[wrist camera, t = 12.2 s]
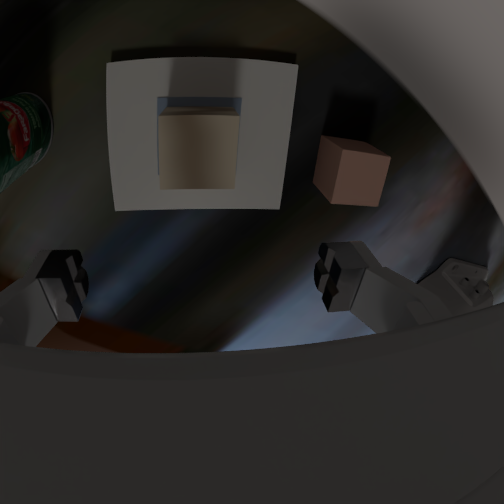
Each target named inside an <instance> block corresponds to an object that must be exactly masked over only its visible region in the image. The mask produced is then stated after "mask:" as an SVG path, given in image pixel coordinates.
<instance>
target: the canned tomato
mask: <svg viewBox="0 0 504 504" xmlns="http://www.w3.org/2000/svg"><path fill="white" fill-rule="evenodd" d="M52 137H53V118H52V115H51V112H50V109H49V107H48V105H47V104H46V103H45V101H44V100H43V99H42V98H40V97H39V96H38V95H36V94H34V93H29V92H23V93H18V94H16V95H13V96H9V97H6V98H3V99H0V193H1V192H2V191H4V190H5V189H6V188H7V187H8V186H9V185H10V184H11V183H13V182H14V181H15V180H16V179H17V178H19V177H20V176H21V175H22V174H23V173H25V172H26V171H27V170H28V169H30V168H31V167H32V166H33V165H35V164H37V163H38V162H39V161H40V160H41V159H42V158H43V157H44V156H45V155H46V153H47V151H48V149H49V147H50V145H51V142H52Z"/></svg>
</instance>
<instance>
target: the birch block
mask: <svg viewBox="0 0 504 504" xmlns="http://www.w3.org/2000/svg"><path fill="white" fill-rule="evenodd" d="M239 122H240V115H239V114H238V113H237V112H236V110H235V109H234V108H233V107H212V106H182V107H166V108H165V109H164V110H163V111H162V113H161V114H160V115H159V116H158V143H159V179H160V190H171V189H235V176H236V162H237V148H238V135H239Z"/></svg>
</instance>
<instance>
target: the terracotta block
mask: <svg viewBox="0 0 504 504" xmlns="http://www.w3.org/2000/svg"><path fill="white" fill-rule="evenodd" d="M390 159H391V157H390V156H388V155H387V154H385V153H383V152H382V151H380V150H378V149H377V148H375V147H373V146H371V145H370V144H368V143H366V142H362V141H357V140H351V139H344V138H338V137H331V136H324V135H321V140H320V146H319V151H318V157H317V162H316V168H315V173H314V178H313V183H314V184H315V185H316V186H317V188H318V189H319V190H320V191H321V192H322V193H323V195H324V196H325V197H326V198H327V199H328V201H329V202H330V203H331V204H347V205H362V206H376V207H377V206H378V203H379V200H380V196H381V193H382V189H383V186H384V182H385V178H386V175H387V171H388V167H389V163H390Z"/></svg>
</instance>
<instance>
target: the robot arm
mask: <svg viewBox="0 0 504 504" xmlns="http://www.w3.org/2000/svg"><path fill="white" fill-rule="evenodd" d="M318 254H319V256H320V258H321V259H320V260H319V261H318V262H317V263H316V264H315V269H314V281H315V285H316V287H317V289H318V290H319V291H320V292H322V293H323V296H322V300H323V302H324V304H325V307H326V309H327V311H328V312H337V311H349V310H351V311H350V312H351V313H353V314H354V315H355V316H356V317H358V318H359V319H360V320H361V321H362V322H364V323H365V324H366V325H367V326H368V327H370V328H371V329H372V330H373V331H374V332H376V333H377V334H371V335H366V336H360V337H354V338H347V339H341V340H334V341H327V342H320V343H312V344H304V345H295V346H286V347H276V348H266V349H254V350H240V351H224V352H203V353H106V352H105V353H104V352H85V351H71V350H58V349H49V348H39V347H36V345H37V344H38V343H39V342H40V341H41V340H42V339H43V338H44V336H45V335H46V334H47V333H48V332H49V331H50V330H51V329H52V328H53V327H54V325H55V324H56V323H57V321H78V320H79V317H80V314H81V311H82V309H83V306H82V303H81V302H82V301H83V300H84V299H85V298H86V297H87V294H88V288H89V281H88V275H87V272H86V270H85V269H84V268H83V267H82V266H81V264H82V261H83V259H82V256H81V252H80V251H79V250H77V249H74V250H42V251H40V252H39V253H38V255H37V256H36V258H35V259H34V261H33V263H32V264H31V266H30V267H29V269H28V271H27V272H26V274H25V275H24V277H23V279H18V280H17V281H15V282H14V283H13V284H11V285H10V286H8V287H7V288H6V289H4V290H3V291H2V292H0V504H504V302H503V303H500V304H496V305H493V306H492V304H493V294H492V292H491V291H490V289H489V285H488V283H487V282H486V280H487V276H488V269H487V268H486V267H484V266H481V265H477V264H473V263H470V262H466V261H462V260H458V259H454V258H449V259H448V260H446V261H445V262H444V263H443V264H442V265H441V266H440V267H439V268H438V269H437V270H436V271H435V272H434V273H432V274H431V275H429V276H428V277H426V278H425V279H424V280H422V281H421V282H420V283H418V284H416V283H414V282H412V281H410V280H409V279H407V278H405V277H403V276H401V275H400V274H398V273H396V272H394V271H392V270H391V269H389V268H387V267H382V266H381V264H380V263H379V262H378V261H377V259H376V258H375V257H374V255H373V254H372V253H371V251H370V250H369V249H368V247H367V246H366V245H365V244H364V242H362V241H349V242H330V243H321V245H320V247H319V251H318Z"/></svg>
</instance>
